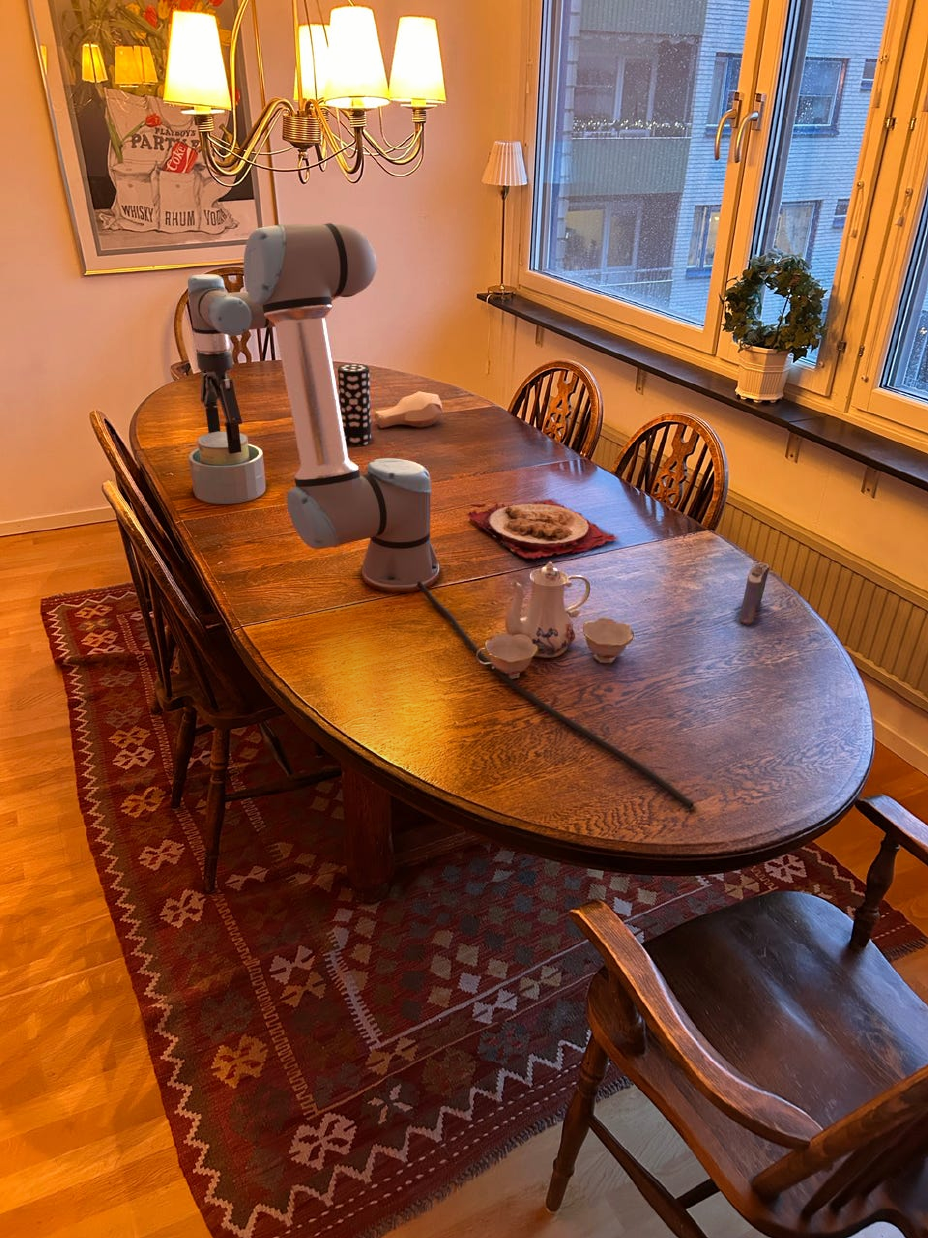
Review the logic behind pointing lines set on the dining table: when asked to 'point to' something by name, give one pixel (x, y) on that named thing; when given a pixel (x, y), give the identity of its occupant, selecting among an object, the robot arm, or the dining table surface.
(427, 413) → the squash
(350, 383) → the white-spotted black cylinder
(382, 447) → the dining table surface
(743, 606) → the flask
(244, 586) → the dining table surface
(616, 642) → the chinaware
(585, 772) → the dining table surface
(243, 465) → the pot
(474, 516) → the plate with food
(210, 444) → the canned food
